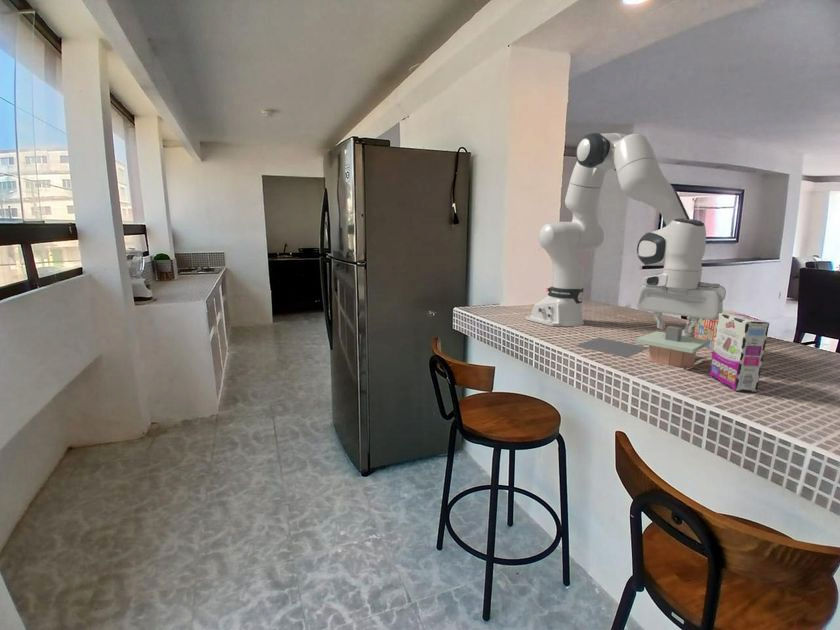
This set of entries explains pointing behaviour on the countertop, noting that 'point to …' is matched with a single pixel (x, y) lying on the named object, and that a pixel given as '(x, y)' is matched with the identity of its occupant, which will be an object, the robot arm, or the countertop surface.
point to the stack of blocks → (709, 328)
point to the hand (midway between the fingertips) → (674, 330)
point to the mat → (612, 347)
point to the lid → (673, 340)
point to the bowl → (671, 357)
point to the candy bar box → (738, 351)
